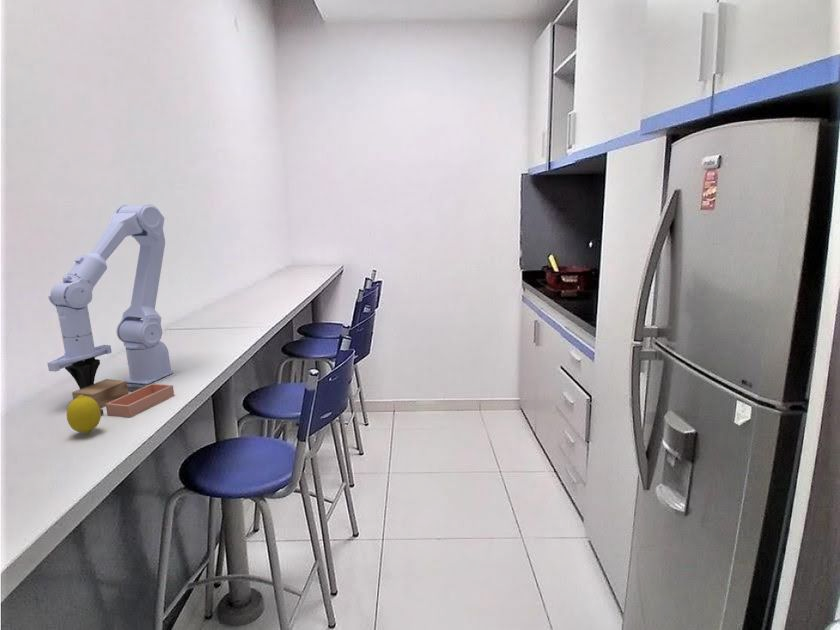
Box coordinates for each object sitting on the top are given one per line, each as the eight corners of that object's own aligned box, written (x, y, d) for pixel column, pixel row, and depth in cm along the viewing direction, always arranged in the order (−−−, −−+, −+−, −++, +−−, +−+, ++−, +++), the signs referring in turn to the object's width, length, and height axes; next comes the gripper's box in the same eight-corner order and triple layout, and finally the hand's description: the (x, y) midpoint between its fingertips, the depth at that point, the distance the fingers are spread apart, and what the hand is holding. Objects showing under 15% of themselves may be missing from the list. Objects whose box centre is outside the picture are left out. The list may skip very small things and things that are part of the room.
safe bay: (127, 388, 128) (127, 383, 128) (154, 391, 126) (153, 386, 126) (68, 414, 113) (67, 408, 113) (97, 417, 111) (96, 412, 111)
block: (109, 394, 125) (106, 379, 125) (129, 396, 124) (126, 380, 123) (75, 409, 117) (71, 392, 116) (95, 411, 115) (92, 394, 114)
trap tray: (153, 393, 125) (151, 383, 124) (174, 395, 123) (172, 385, 122) (107, 415, 112) (105, 404, 112) (129, 417, 111) (128, 406, 110)
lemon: (97, 425, 107) (90, 388, 105) (108, 432, 104) (101, 394, 102) (66, 435, 103) (59, 396, 101) (76, 442, 99) (69, 402, 98)
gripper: (91, 326, 126) (100, 380, 129) (32, 342, 113) (44, 401, 116) (114, 327, 124) (123, 382, 127) (57, 343, 111) (68, 404, 114)
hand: (87, 391), depth 121 cm, fingers closed
